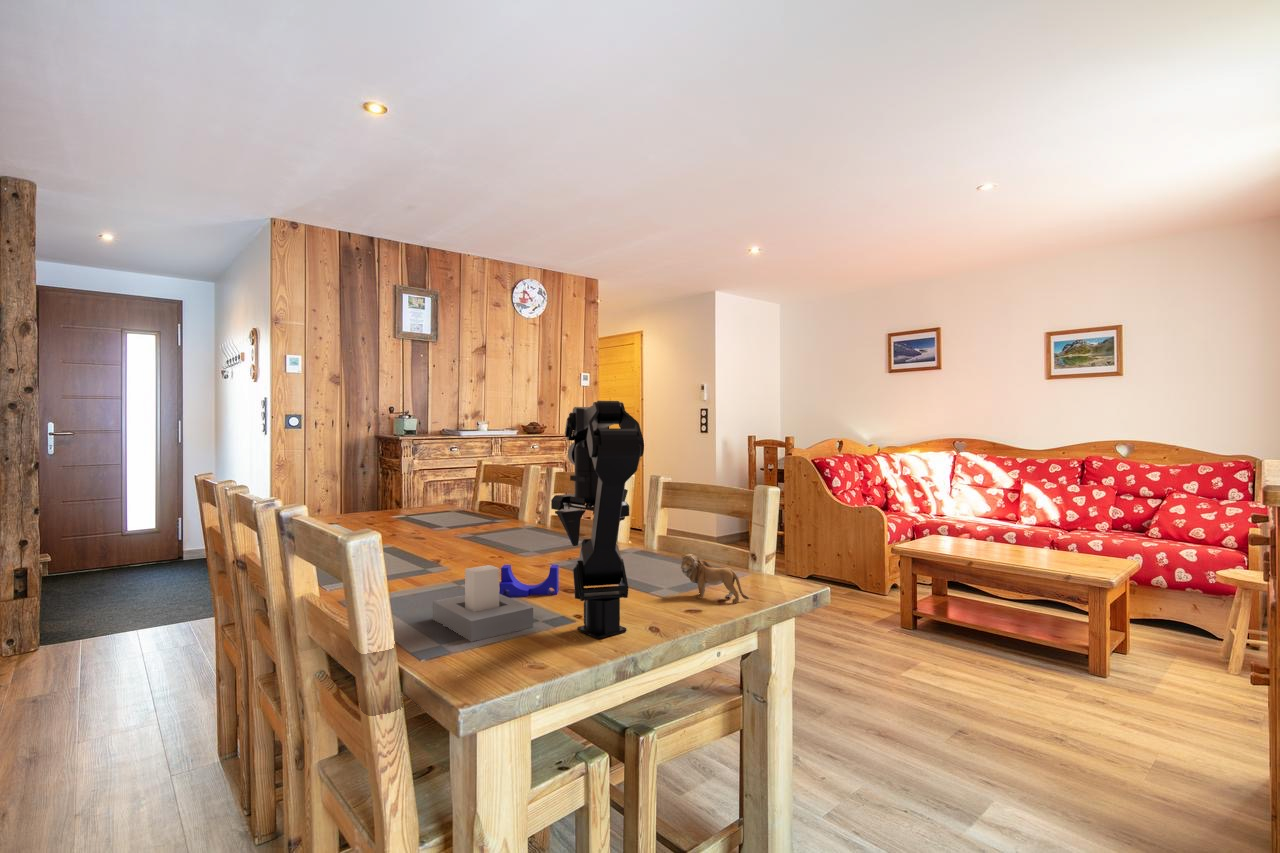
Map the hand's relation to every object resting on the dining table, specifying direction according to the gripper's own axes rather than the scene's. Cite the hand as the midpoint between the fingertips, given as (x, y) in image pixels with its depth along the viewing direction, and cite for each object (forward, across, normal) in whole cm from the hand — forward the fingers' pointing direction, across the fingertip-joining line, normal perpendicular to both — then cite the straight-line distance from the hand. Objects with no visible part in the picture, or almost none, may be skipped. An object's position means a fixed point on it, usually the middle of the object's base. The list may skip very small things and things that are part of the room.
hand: (588, 549), depth 125 cm
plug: (+11, +6, +20) cm, 23 cm away
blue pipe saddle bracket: (+12, +18, +3) cm, 22 cm away
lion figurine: (+12, -10, -25) cm, 29 cm away
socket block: (+12, +6, +20) cm, 24 cm away
